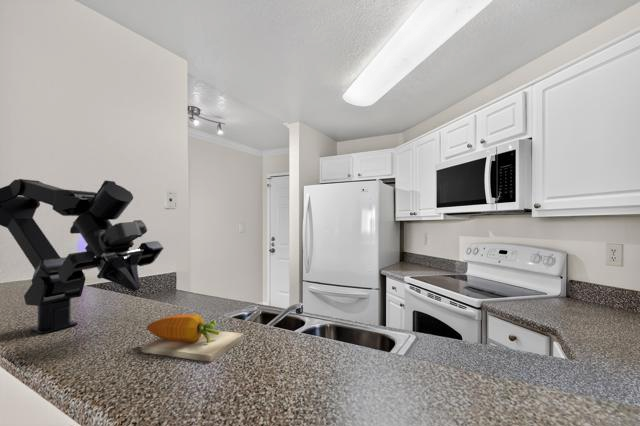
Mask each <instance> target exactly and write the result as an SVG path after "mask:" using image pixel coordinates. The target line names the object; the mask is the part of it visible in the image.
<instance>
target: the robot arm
mask: <svg viewBox="0 0 640 426" xmlns="http://www.w3.org/2000/svg"><path fill="white" fill-rule="evenodd" d="M133 200H134V195H133V193H132V192H131V191H129V190H128V189H126V188H125V187H124V186H122V185H118V184H117V183H116V181H111V180H104V181H103V183H102V184H101V186H100V188H99V189H98V191H97V192H94V191H85V190H84V191H83V190H76V189H75V190H73V189H64V188H60V187H57V186H54V185H50V184H47V183H43V182H41V181H39V180H32V179H23V178H18V179H14V180H13V181H11V183H10V184H8V185H5V186H2V187H0V226H1V227H4V228H6V229H8V231H9V232H10V234H11V236H12V237H13V238H14V240H15V242H16V243H17V245H18V246H19V248H20V249H21V251H22V252H23V254H24V255H25V256H26V258H27V260H28V262H29V263H30V264H31V266H32V267H33V269H34V271H33V274H32V278H31V283H32V284H31V285H30V286H29V288H28V290H27V291H26V293H25V294H23V298H24V302H25V305H26V306H34V307H35V306H37V312H36V313H37V315H36V316H37V317H36V318H37V319H36V320H37V321H36V322H37V323H36V324H37V325H35V326H30V331H32V332H36V333H38V334H42V335H43V334H47V333H51V332H55V331H59V330H62V329H66V328H69V327H74V326H77V325H78V322H77V321H73V320H71V319H72V318H71V317H72V313H71V312H72V299H74V298H79V297H80V298H81V297H82V295H83V294H82V293H83V290H84V287H85V284H86V283H85V282H86V276H85V273H84V272H83V270H85V271H87V270H92V269H97V271H98V274H97V276H96V278H97V279H99V280H100V279H104V280H107V281H109V282H111V283H114V284H117V285H119V286H121V287H123V288H125V289H128V290H129V291H132V292H137V291H140V289H141V285H140V278H139V271H138V266H139V267H144V266H148V265H151V264H153V263H154V262H155V261H156V259H157V258H158V257H159V256H160V254H161V252H162V251H163V250H164V246H163V245H162V244H161V243H160V241H158V240H157V241H156V240H155V241H148V242H142V243H141V244H140V245H139V247H137V248H136V249H134V250H133V249H132V250H130V248H133V246H134V245H135V242H134V241H135V240H136V239H138V238H142V236H143V235H144V234H146V233H147V232H148V229H147V225H146V223H145V222H144V221H143V220H141V219H138V220H133V221H128V222H127V221H126V222H119V223H115V224H114V225H113V223H112V222H111V221H112V220H118V219H119V218H120V217H121V215H122V214H123V213H124V211H125V210H126V209H127V207H128V206H129V205H130V204H131V203H132V201H133ZM41 203H44V204H47V205H50V206H52V210H53V211H55V212H56V213H57V214H58V215H61V216H63V217H76V219H75V220H73V222H72V226H71V227H70V228H69V233H70V234H71V235H73V234H80V235H81V236H82V238H83V240H84V241H85V242H86V246H85V248H84V249H85V251H79V252H73V253H69V254H68V255H67V256H66V257H61V256H60V254H59V253H58V252H57V250H56V249H55V248H54V246H53V245H52V243H51V242H50V240H49V239H48V237H47V236H46V235H45V233H44V232H43V231H42V229H41V228H40V226H39V225H38V223H37V222H36V220H35V219H34V216H35V213H36V212H37V209H38V208H39V207H40V206H41ZM110 220H111V221H110Z"/></svg>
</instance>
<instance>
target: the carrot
mask: <svg viewBox="0 0 640 426" xmlns="http://www.w3.org/2000/svg"><path fill="white" fill-rule="evenodd" d="M216 325H217V322H216V320H211V321H210V322H206V323H205V322H204V319H203V318H202V317H201V316H200V314H194V313H193V314H192V313H191V314H190V313H189V314H187V313H186V314H176V315H170V316H166V317H162V318H160V319H157V320H154V321H153V322H150V323H148V325H147V326H146V329H147V331H149V332H150V333H151V334H153V335H154V336H156V337H157V338H158V339H159V338H162V339H166V340H170V341H176V342H188V343H191V342H194V341H196V340H197V339H199V338H200V337H201V335H202V334H203V335H204V336H205V337H206V339H207V343H209V342H210V337H209V335H208V334H207V332H208V333H212V334H216V335H219V331H220V330H217V329H214V328H215V326H216Z"/></svg>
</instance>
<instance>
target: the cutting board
mask: <svg viewBox="0 0 640 426" xmlns="http://www.w3.org/2000/svg"><path fill="white" fill-rule="evenodd" d="M218 331H219V335H216V334H212V333H208V332H207V334H208V335H209V337H210V342H209V343H207V339H206V337H205V336H204V335H203V334H202V335H201V337H200V338H199V339H197V340H196V341H194V342H191V343H188V342H176V341H170V340H166V339H162V338H159V337H158V338H157V339H154V340H153V341H151V342H148V343H147V344H144V345H141V353H144V354H145V353H146V354H151V355H152V354H153V355H160V356H166V357H167V356H168V357H172V358H173V357H174V358H179V359H181V358H182V359H189V360H194V361H195V360H196V361H201V362H202V361H203V362H209V363H212V362H214V361H215V360H216V359H217V358H219V357H220V356H222V355H223V354H225V353H226V352H228V351H229V350H230V349H232V348H233V347H235V346H236V345H238V344H239V343H241V342H242V341H243V340H244V339H245V333H241V332H232V331H224V330H223V331H222V330H221V331H220V330H218Z"/></svg>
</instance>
